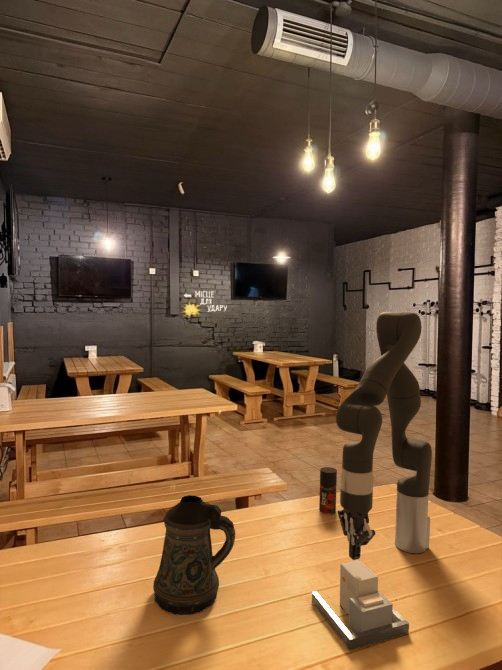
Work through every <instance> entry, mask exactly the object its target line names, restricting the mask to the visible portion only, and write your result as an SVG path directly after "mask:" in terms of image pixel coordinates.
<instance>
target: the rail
mask: <svg viewBox="0 0 502 670" xmlns="http://www.w3.org/2000/svg"><path fill="white" fill-rule="evenodd" d="M311 602H312V604H313V605H314V607H315V608H316V609H317V610H318V612H319V613H320V615H321V616H322V617H323V618H324V620H325V621H326V622H327V624H328V625H329V626H330V627H331V629H332V630H333V631H334V632H335V634H336V635H337V636H338V638H339V639H340V640H341V641H342V642H343V644H344V645H345V647H346V648H347V649H348V651H349V652H351V651H354V650H356V649H357V650H358V649H361V648H364V647H367V646H372V645H374V644H378V643H381V642H385V641H389V640H393V639H395V638H396V639H397V638H398V637H403V636H406V635H409V632H410V630H409V629H410V622H408V621H407V620H406V619H405V618H404V617H403V616H402V615H401V614H400V613H399V612H398V611H397V610H396V609H395V608H394V607H393V609H392V624H388V625H385V626H381V627H377V628H374V629H370V630H366V631H363V632H359V633H355V634H354V633H351V631H350V629H349V628H347V627H346V626H345V624H344V623H343V622H342V621H341V619H340V617H338V616H337V614H335V612H334V610H332V608H330V606H329V605H328V604H327V603H326V601H325V600H324V599H323V598H322V596H321V595H320V593H318V591H317V590H315V591H312V592H311Z"/></svg>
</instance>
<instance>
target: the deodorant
mask: <svg viewBox="0 0 502 670" xmlns="http://www.w3.org/2000/svg"><path fill="white" fill-rule="evenodd" d="M337 474H338V470H337V468H334V467H332V466H323V467H321V468H320V469H319V500H318V501H319V503H318V504H319V507H318V509H319V510H320V511H319V512H320V513H321V512H322V513H321V514H324V515H333V514H336V513H337V484H338V482H337V479H338V475H337Z"/></svg>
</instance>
